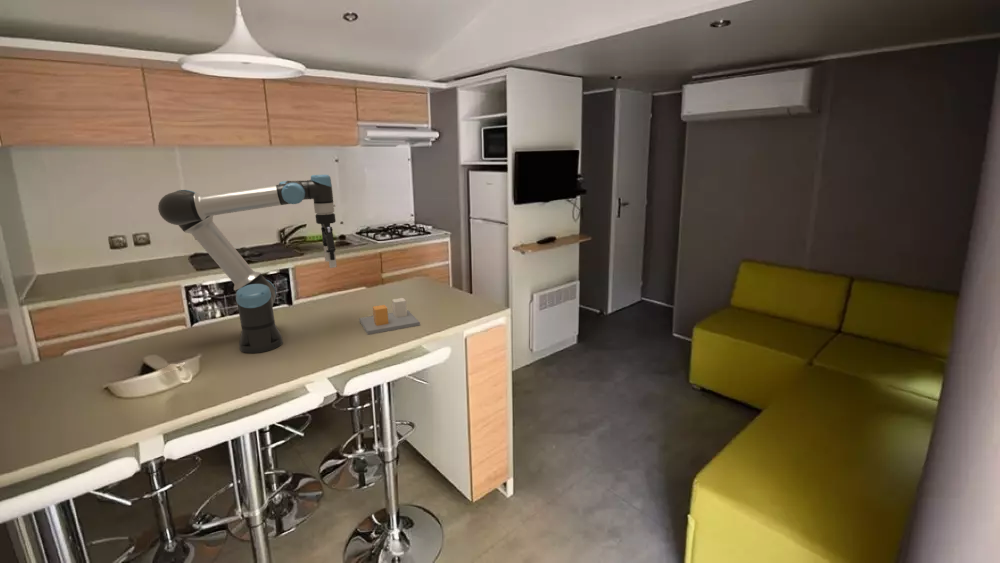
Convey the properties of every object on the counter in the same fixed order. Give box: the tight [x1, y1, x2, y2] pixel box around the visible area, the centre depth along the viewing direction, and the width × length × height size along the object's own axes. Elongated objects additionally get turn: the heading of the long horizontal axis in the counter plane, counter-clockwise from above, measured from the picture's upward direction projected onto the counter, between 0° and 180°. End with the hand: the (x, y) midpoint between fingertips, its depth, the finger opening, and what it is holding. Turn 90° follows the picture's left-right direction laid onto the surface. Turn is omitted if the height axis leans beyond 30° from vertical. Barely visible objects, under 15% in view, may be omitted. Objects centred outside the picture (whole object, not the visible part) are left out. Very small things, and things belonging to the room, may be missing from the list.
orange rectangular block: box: [372, 304, 389, 326], centre depth 205 cm, size 5×5×7 cm
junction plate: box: [358, 297, 421, 335], centre depth 208 cm, size 22×18×8 cm
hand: (330, 264), depth 203 cm, fingers open, 13 cm apart
